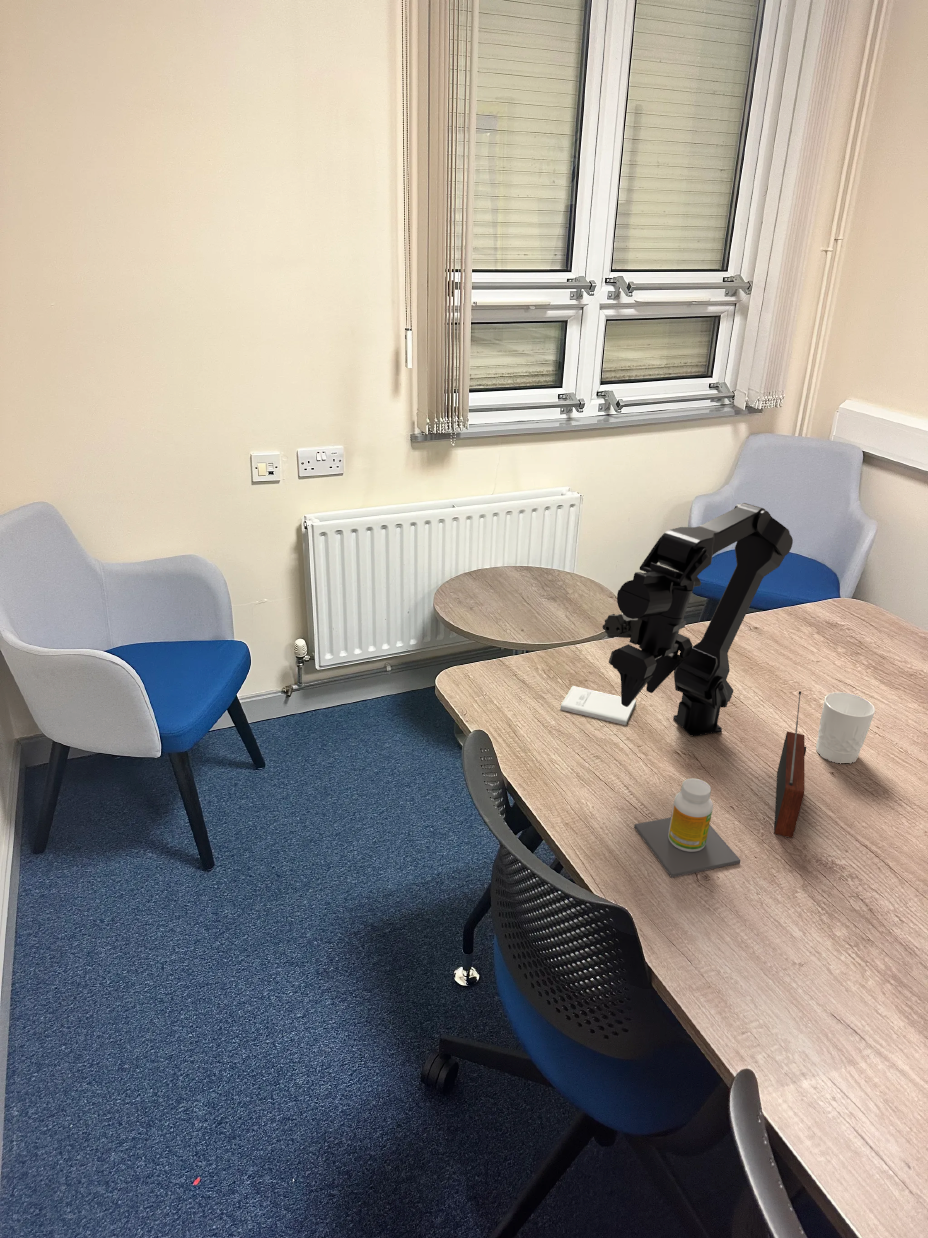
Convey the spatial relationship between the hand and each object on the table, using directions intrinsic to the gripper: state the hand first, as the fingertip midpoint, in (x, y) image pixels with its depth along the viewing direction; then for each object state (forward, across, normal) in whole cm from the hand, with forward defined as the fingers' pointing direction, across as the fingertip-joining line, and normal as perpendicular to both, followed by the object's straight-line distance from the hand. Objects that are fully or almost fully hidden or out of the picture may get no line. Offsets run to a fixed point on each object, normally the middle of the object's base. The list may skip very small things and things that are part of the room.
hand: (637, 698), depth 136 cm
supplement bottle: (+12, +12, +18) cm, 24 cm away
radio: (+8, -8, +26) cm, 28 cm away
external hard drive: (+12, -14, -11) cm, 21 cm away
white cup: (+5, -27, +28) cm, 39 cm away
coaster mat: (+12, +12, +18) cm, 25 cm away
